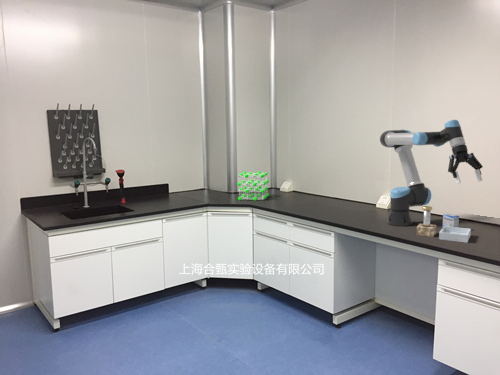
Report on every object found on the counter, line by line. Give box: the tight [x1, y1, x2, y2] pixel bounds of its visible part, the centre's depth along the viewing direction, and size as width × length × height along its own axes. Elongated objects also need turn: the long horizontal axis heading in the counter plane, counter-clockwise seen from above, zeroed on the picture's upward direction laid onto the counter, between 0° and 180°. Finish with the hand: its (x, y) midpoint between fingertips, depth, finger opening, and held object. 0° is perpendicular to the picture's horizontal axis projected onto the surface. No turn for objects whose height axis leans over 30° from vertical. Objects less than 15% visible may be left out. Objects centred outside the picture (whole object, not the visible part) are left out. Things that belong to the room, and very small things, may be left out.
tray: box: [438, 226, 472, 243], centre depth 226 cm, size 14×16×4 cm
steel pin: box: [421, 205, 433, 227], centre depth 233 cm, size 5×5×16 cm
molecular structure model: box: [237, 171, 270, 201], centre depth 371 cm, size 24×25×24 cm
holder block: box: [416, 223, 437, 238], centre depth 234 cm, size 9×9×5 cm
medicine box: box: [442, 213, 460, 228], centre depth 245 cm, size 8×4×9 cm, turn 24°
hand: (469, 182), depth 221 cm, fingers open, 13 cm apart
